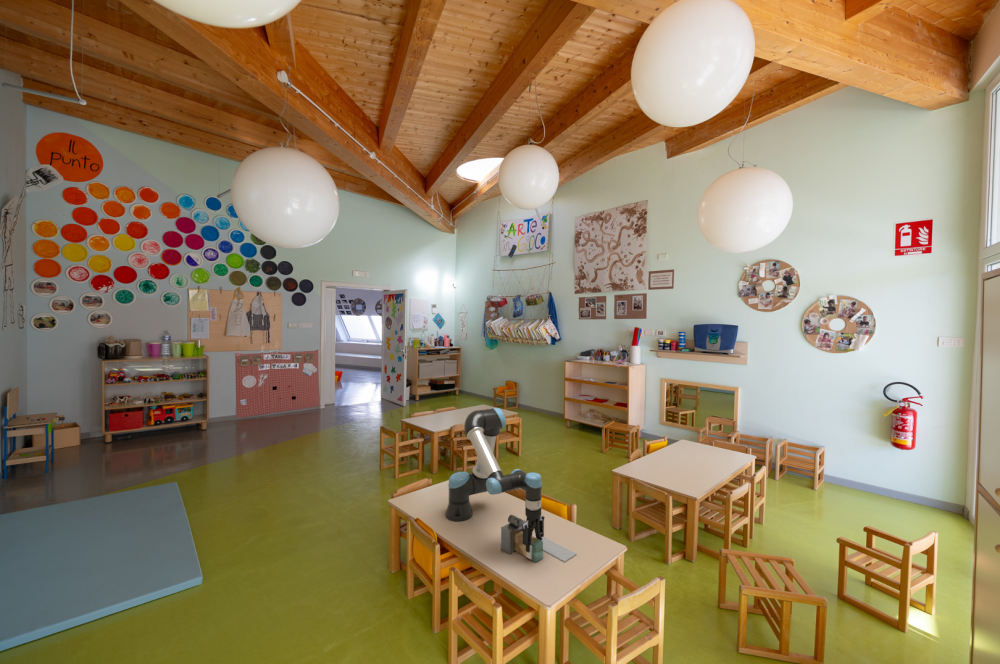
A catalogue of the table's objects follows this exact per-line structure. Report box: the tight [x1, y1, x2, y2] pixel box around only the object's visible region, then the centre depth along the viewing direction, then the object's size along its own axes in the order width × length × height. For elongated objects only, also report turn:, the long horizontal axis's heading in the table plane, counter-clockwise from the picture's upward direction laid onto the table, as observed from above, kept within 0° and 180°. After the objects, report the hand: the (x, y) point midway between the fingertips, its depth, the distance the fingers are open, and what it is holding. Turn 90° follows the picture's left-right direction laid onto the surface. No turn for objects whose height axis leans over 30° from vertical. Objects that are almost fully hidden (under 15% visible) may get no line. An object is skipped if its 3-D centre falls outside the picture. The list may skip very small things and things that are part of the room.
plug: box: [514, 530, 544, 563], centre depth 199 cm, size 18×5×8 cm, turn 43°
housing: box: [500, 514, 526, 555], centre depth 204 cm, size 6×13×15 cm, turn 133°
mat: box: [542, 536, 578, 563], centre depth 202 cm, size 22×9×1 cm, turn 43°
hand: (533, 555), depth 195 cm, fingers closed on plug, 5 cm apart
